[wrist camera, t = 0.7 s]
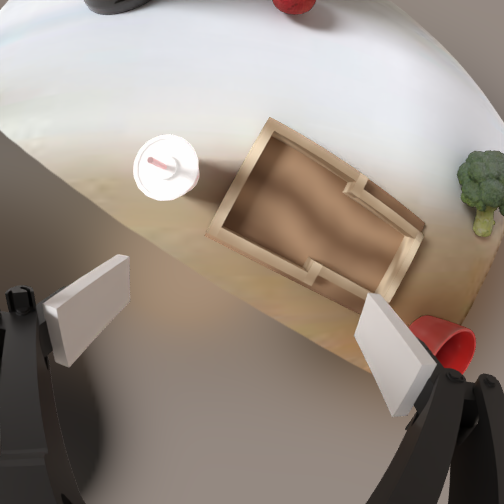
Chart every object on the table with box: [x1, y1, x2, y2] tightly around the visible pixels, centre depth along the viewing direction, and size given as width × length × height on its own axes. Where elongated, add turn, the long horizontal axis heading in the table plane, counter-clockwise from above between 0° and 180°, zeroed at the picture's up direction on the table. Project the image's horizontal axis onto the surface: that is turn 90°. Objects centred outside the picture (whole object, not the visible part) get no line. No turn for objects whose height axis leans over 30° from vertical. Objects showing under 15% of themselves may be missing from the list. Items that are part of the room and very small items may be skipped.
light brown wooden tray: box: [205, 117, 425, 315], centre depth 33 cm, size 16×26×4 cm, turn 62°
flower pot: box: [409, 315, 476, 375], centre depth 35 cm, size 11×11×10 cm
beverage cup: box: [134, 134, 199, 201], centre depth 26 cm, size 6×6×14 cm
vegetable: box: [457, 150, 504, 237], centre depth 32 cm, size 12×13×15 cm
